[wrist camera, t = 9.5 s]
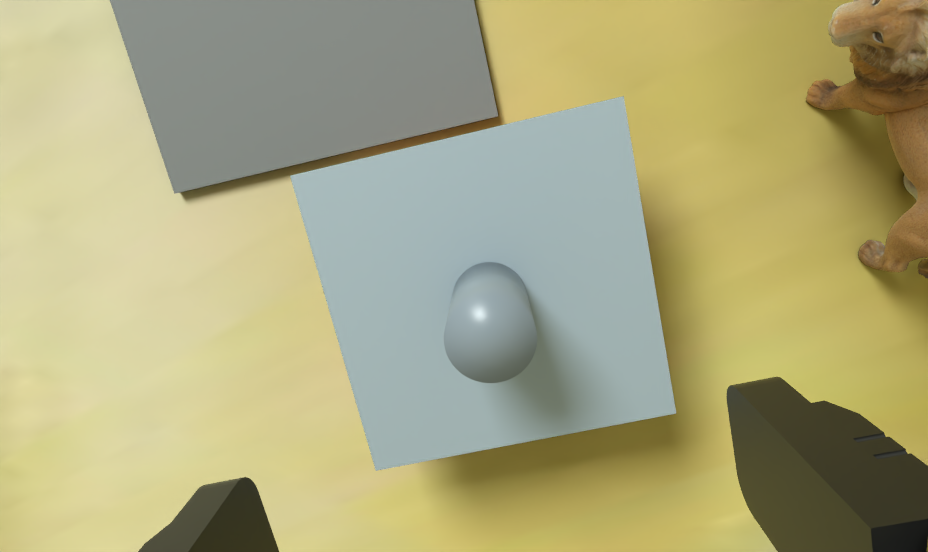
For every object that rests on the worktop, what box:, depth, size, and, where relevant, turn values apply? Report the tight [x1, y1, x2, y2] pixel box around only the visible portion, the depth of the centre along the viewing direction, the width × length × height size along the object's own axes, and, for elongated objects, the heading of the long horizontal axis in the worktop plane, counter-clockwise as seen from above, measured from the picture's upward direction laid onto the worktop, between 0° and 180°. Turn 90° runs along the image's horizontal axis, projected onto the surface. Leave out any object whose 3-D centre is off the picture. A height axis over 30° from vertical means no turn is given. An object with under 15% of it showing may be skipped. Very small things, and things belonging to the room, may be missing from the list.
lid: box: [290, 96, 676, 471], centre depth 22 cm, size 13×13×6 cm
